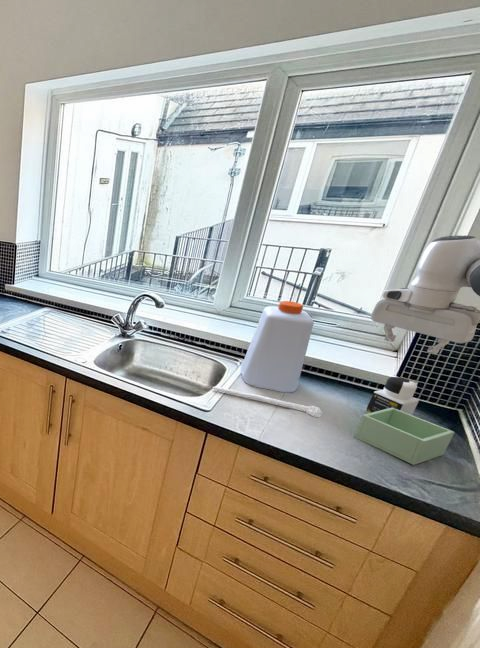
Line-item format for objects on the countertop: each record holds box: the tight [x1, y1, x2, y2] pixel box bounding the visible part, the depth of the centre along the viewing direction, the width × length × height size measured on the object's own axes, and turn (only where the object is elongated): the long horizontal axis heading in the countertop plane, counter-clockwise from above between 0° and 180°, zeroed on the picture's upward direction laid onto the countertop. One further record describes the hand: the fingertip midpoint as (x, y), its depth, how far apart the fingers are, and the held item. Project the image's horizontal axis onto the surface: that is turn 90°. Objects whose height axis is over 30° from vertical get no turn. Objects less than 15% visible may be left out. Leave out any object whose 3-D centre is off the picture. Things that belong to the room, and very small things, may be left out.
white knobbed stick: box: [212, 386, 322, 418], centre depth 128 cm, size 28×4×3 cm, turn 58°
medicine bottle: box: [365, 376, 420, 415], centre depth 120 cm, size 7×7×12 cm
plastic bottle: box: [240, 300, 315, 394], centre depth 137 cm, size 15×15×28 cm
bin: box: [354, 407, 455, 466], centre depth 108 cm, size 13×13×7 cm
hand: (409, 346), depth 115 cm, fingers open, 8 cm apart
